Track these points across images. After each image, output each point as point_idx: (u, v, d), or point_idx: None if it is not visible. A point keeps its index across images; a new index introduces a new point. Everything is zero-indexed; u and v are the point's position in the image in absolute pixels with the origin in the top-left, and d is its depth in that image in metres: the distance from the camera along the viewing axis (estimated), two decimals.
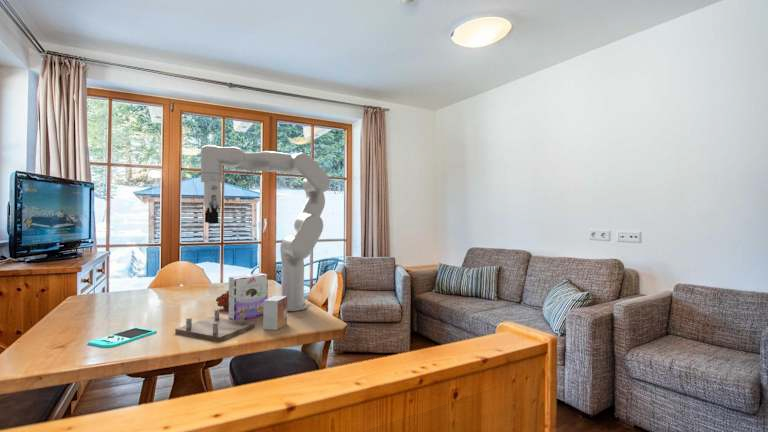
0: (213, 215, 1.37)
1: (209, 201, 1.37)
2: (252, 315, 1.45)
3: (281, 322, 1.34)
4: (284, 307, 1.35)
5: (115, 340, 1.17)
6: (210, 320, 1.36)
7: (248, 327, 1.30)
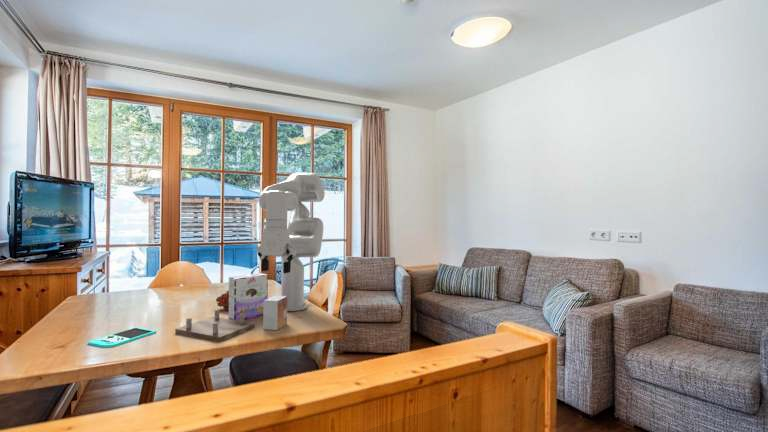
0: None
1: None
2: (252, 315, 1.45)
3: (281, 322, 1.34)
4: (284, 307, 1.35)
5: (115, 340, 1.17)
6: (210, 320, 1.36)
7: (248, 327, 1.30)
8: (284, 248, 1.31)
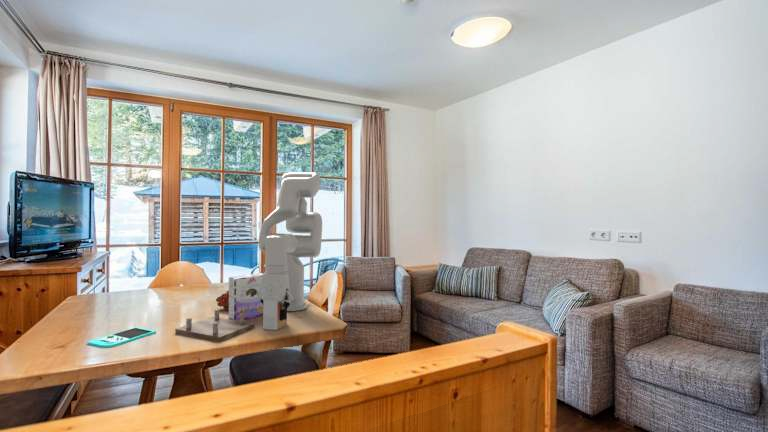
0: None
1: None
2: (252, 315, 1.45)
3: (281, 322, 1.34)
4: None
5: (114, 340, 1.16)
6: (210, 320, 1.36)
7: (248, 327, 1.30)
8: (284, 294, 1.31)
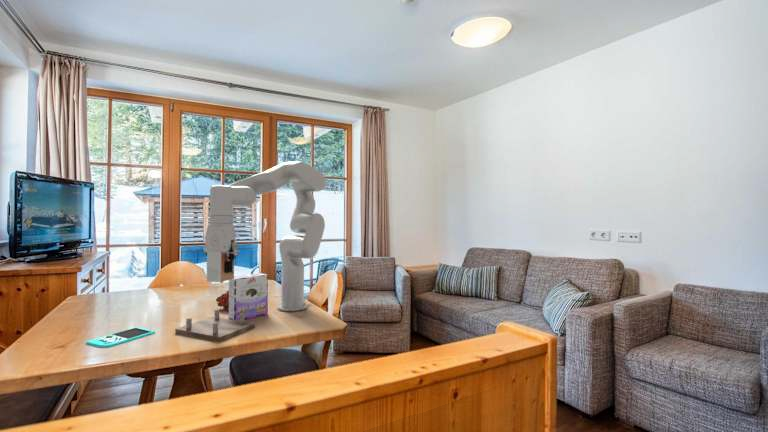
0: None
1: None
2: (252, 315, 1.45)
3: (226, 275, 1.28)
4: None
5: (112, 340, 1.17)
6: (210, 320, 1.36)
7: (248, 327, 1.30)
8: (228, 245, 1.26)
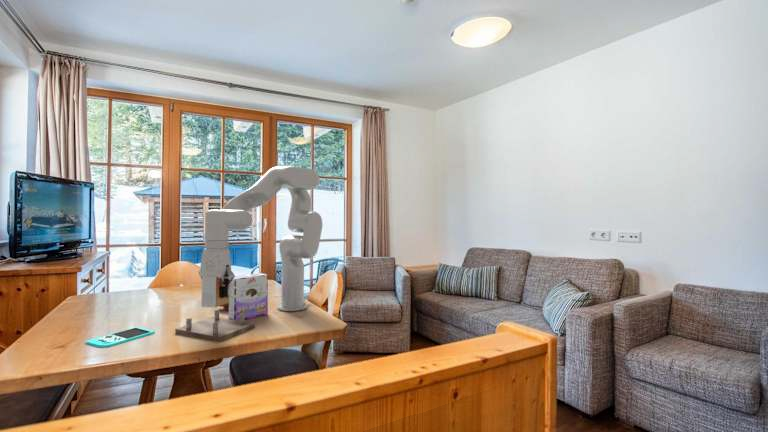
0: None
1: None
2: (252, 315, 1.45)
3: (221, 300, 1.28)
4: None
5: (111, 340, 1.17)
6: (210, 320, 1.36)
7: (248, 327, 1.30)
8: (223, 270, 1.26)
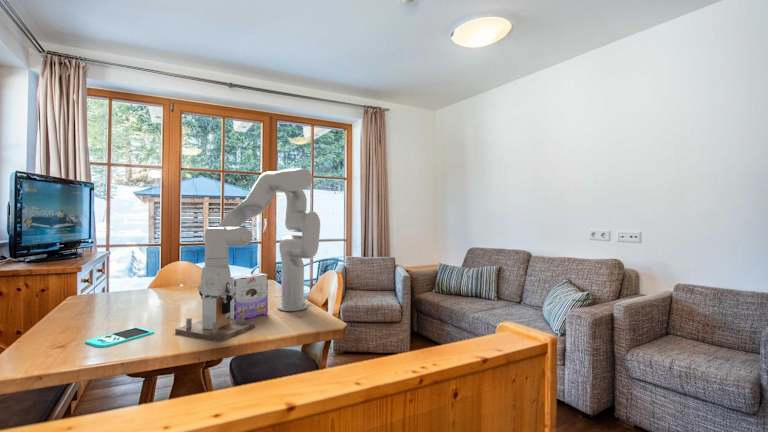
0: None
1: None
2: (252, 315, 1.45)
3: (222, 321, 1.29)
4: None
5: (111, 340, 1.17)
6: None
7: (248, 327, 1.30)
8: (223, 288, 1.26)
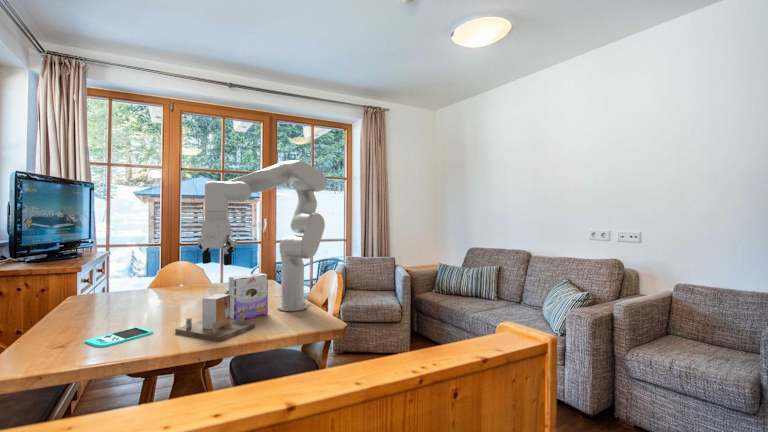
0: None
1: None
2: (252, 315, 1.45)
3: (222, 321, 1.29)
4: (225, 305, 1.30)
5: (110, 340, 1.17)
6: None
7: (248, 327, 1.30)
8: (224, 240, 1.28)
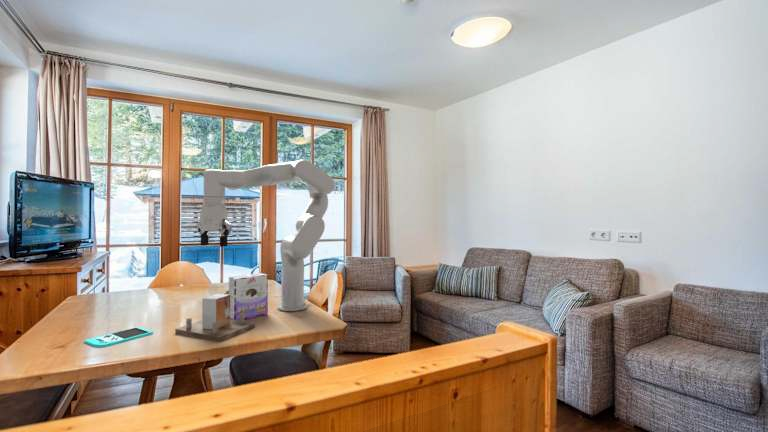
0: None
1: None
2: (252, 315, 1.45)
3: (222, 321, 1.29)
4: (225, 305, 1.30)
5: (109, 340, 1.17)
6: None
7: (248, 327, 1.30)
8: (220, 223, 1.39)
